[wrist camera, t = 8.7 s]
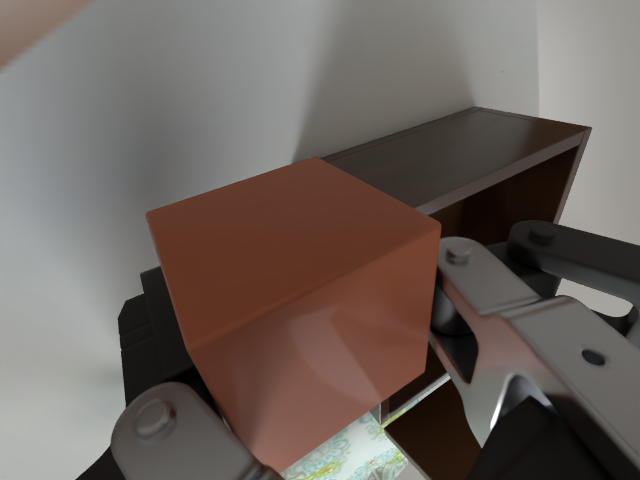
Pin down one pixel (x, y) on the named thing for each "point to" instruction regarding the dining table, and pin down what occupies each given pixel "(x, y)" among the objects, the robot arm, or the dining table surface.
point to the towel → (353, 454)
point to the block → (299, 300)
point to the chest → (470, 186)
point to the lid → (436, 435)
